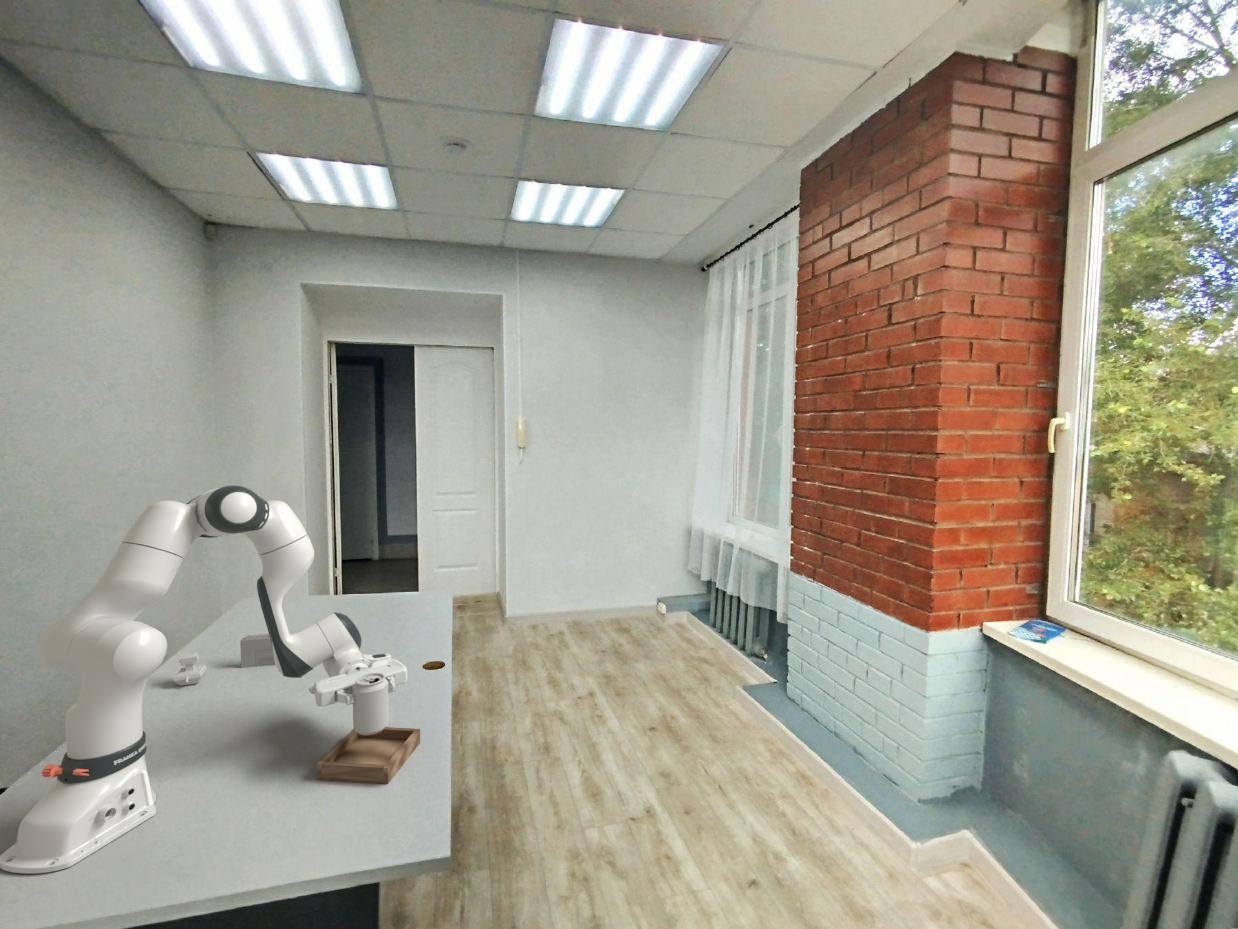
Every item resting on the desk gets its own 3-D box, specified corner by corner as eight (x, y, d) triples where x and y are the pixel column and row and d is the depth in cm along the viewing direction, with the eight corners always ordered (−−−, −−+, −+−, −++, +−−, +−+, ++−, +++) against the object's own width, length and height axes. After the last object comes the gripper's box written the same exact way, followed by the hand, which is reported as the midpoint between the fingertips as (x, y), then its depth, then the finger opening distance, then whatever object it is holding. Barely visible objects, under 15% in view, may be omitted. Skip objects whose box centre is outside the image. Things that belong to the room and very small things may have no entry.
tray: (388, 783, 121) (387, 768, 121) (317, 779, 122) (316, 764, 122) (420, 742, 137) (420, 729, 137) (357, 739, 138) (356, 725, 138)
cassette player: (298, 660, 185) (297, 630, 185) (295, 663, 183) (294, 633, 182) (244, 664, 181) (243, 634, 181) (241, 668, 179) (240, 637, 178)
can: (376, 739, 125) (375, 686, 124) (346, 735, 126) (344, 683, 125) (395, 721, 132) (394, 672, 131) (366, 718, 134) (365, 669, 133)
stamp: (200, 687, 165) (199, 659, 165) (172, 691, 163) (171, 662, 162) (208, 674, 174) (207, 648, 173) (181, 678, 171) (180, 651, 170)
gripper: (306, 673, 132) (321, 695, 121) (395, 651, 145) (415, 669, 134) (307, 699, 132) (322, 723, 122) (395, 675, 145) (416, 695, 135)
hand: (372, 695), depth 128 cm, fingers closed on can, 7 cm apart
